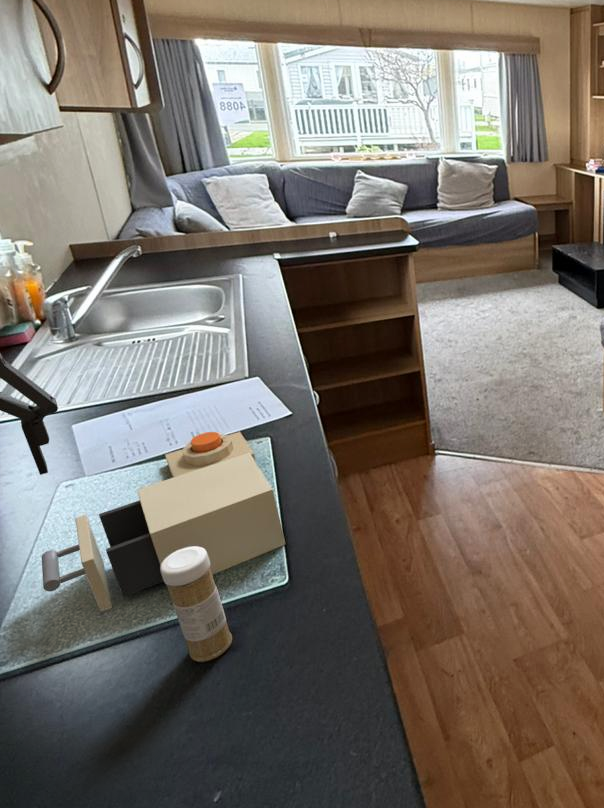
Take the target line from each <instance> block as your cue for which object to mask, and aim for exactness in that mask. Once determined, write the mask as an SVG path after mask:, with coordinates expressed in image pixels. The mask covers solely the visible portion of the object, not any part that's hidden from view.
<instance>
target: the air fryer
mask: <svg viewBox="0 0 604 808" xmlns="http://www.w3.org/2000/svg"><path fill="white" fill-rule="evenodd" d="M256 463H257V461H256V462H255V461H254V459H253V458H252V456H251V454H250V453H247V454H244V455H241V456H238V457H235V458H232V459H229V460H226V461H222V462H219V463H216V464H213V465H210V466H207V467H204V468H201V469H198V470H195V471H192V472H189V473H186V474H183V475H180V476H177V477H173V476H172V477H170V478H168V479H164V480H161V481H158V482H155V483H152V484H149V485H146V486H143V487H141V488H137V489H136V492H137V495H138V499H139V500H140V502H141V505H142V509H143V512H144V515H145V519H146V522H147V525H148V529H149V532H150V535H151V538H152V541H153V544H154V547H155V550H156V553H157V556H158V559H159V562H160V565H161V564H162V562H163V561H164V559H165V558H167V557H168V556H169V555H170V554H172V553H174V552H176V551H178V550H180V549H183V548H186V547H193V546H198V547H202V548H204V549H205V550H206V552H207V554H208V557H209V560H210V570H211V573H212V576H213V575H215V574H218V573H220V572H223V571H225V570H229V569H230V568H233V567H235V566H237V565H239V564H242V563H244V562H247V561H249V560H252V559H254V558H256V557H259V556H261V555H263V554H266V553H268V552H271V551H273V550H275V549H278V548H281V547H283V546H286V540H285V535H284V532H283V527H282V523H281V519H280V514H279V509H278V507H277V500H276V497H275V493H274V489H273V488H272V486H271V485H270V482H269V481H268V479H267V478H266V476H265V475H264V473H263V471H262V470H261V468H260V467H259V466H258V463H257V464H256ZM166 587H167V589H168V586H167V585H166ZM167 591H169V589H168V590H167Z"/></svg>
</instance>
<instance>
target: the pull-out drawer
mask: <svg viewBox="0 0 604 808" xmlns="http://www.w3.org/2000/svg"><path fill="white" fill-rule="evenodd" d="M98 517H99V520H100V522H101V525H102V529H103V530H104V534H105V536H106V539H107V542H108V544H109V547H108V548H106V549H105V552H106V555H107V558H108V560H109V563H110V566H111V568H112V571H113V574H114V576H115V580H116V583H117V585H118V588H119V590H120V593H121V596H122V597H123V598H126V597H128V596H130V595H133V594H135V593H137V592H140V591H142V590H143V591H144V590H145V589H148V588H150V587H152V586H155V585H157V584H160V583H162V582H164V580H163V577H162V574H161V571H160V566H161V565H160V562H159V559H158V556H157V553H156V550H155V547H154V544H153V541H152V538H151V535H150V532H149V529H148V525H147V522H146V519H145V515H144V512H143V509H142V505H141V502H140V499H139V500H137V501H134V502H130V503H128V504H124V505H121V506H119V507H116V508H113V509H109V510H107V511H104V512H100V513H99V514H98ZM74 520H75V526H76V534H77V540H78V544H76V545H73V546H70V547H67V548H64V549H62V550H58V551H56V550H54V549H53V550H47V551H44V553H42V555H41V569H42V570H41V571H42V573H41V574H42V588H43V590H44V591H46V592H54V591H56V590H59V588H60V587H61V584H63V583H65V582H69V581H71V580H73V579H76V578H79V577H82V576H84V575H85V576H86V578H87V581H88V583H89V586H90V589H91V592H92V594H93V597H94V599H95V602H96V604H97V607H98V609H99V612H100V613H102V612H104V611H106V610H107V611H108V610H109V609H112V607H113V606H112V600H111V595H110V590H109V583H108V578H107V573H106V567H105V563H104V558H103V556H102V552H101V551H100V547H99V545H98V542H97V540H96V537H95V534H94V532H93V529H92V527H91V526H92V525H91V524H90V521H89V518H88V516H87V514H83V515H80V516H77V517H75V518H74ZM76 552H79V554H80V555H79V556H80V561H81V566H82V568H80V569H78V570H74V571H72V572H69V573H66V574H63V575H60V563H59V558H62V557H65V556H68V555H70V554H73V553H76Z"/></svg>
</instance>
